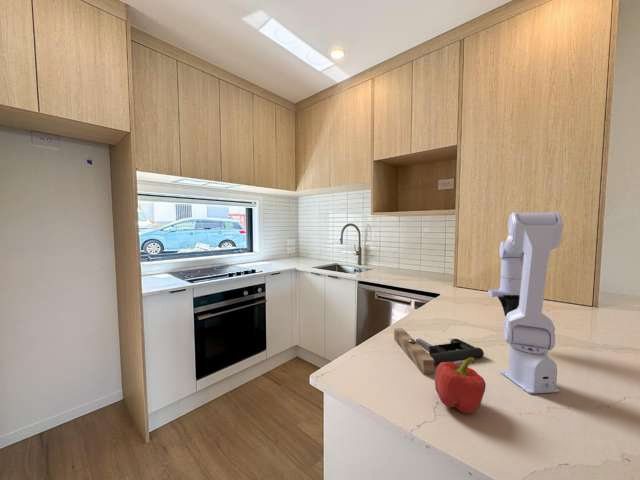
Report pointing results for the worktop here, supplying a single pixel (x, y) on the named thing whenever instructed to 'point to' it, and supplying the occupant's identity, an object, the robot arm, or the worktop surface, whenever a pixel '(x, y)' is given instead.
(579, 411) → the worktop surface
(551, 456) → the worktop surface
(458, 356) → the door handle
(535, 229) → the robot arm
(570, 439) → the worktop surface
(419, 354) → the bar
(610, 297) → the worktop surface
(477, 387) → the vegetable
